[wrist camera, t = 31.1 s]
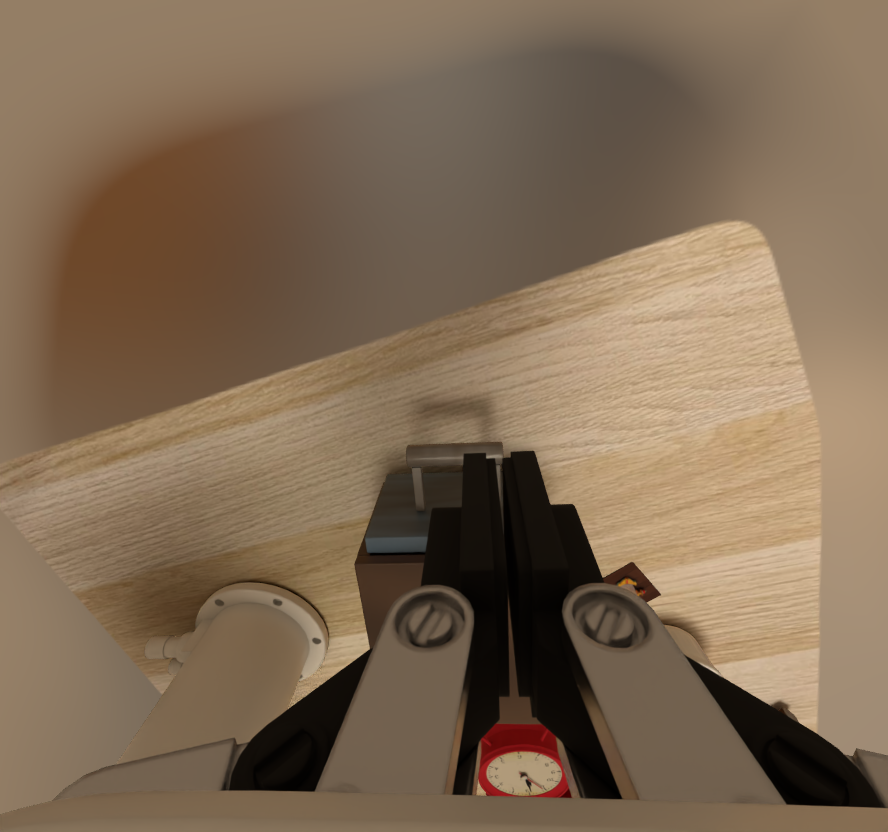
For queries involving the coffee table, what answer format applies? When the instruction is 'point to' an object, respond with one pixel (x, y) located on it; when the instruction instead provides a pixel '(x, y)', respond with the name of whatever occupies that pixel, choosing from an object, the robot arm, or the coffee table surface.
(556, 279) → the coffee table surface
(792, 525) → the coffee table surface
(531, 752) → the alarm clock
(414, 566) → the cabinet
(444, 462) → the drawer
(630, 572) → the diorama
